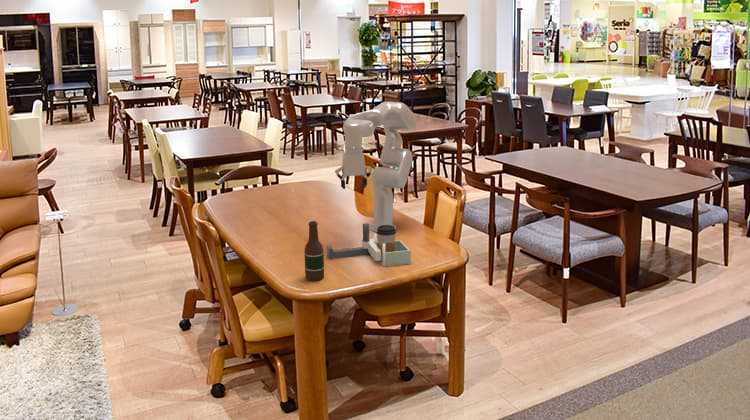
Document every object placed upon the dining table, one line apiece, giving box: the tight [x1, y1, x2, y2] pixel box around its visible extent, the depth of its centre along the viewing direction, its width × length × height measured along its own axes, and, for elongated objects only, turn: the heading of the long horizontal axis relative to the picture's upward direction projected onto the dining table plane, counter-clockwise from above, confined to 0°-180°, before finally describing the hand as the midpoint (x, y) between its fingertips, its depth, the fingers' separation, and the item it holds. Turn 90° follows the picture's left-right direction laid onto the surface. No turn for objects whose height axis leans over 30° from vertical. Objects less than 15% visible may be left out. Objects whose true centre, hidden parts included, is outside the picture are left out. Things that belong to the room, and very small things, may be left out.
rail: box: [326, 244, 371, 261], centre depth 313 cm, size 5×28×5 cm, turn 105°
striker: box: [361, 223, 381, 262], centre depth 306 cm, size 17×6×12 cm, turn 15°
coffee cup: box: [376, 225, 397, 263], centre depth 305 cm, size 8×8×15 cm
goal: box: [373, 233, 412, 268], centre depth 306 cm, size 15×12×10 cm
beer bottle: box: [303, 220, 325, 282], centre depth 284 cm, size 8×8×24 cm
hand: (354, 187), depth 316 cm, fingers open, 9 cm apart
